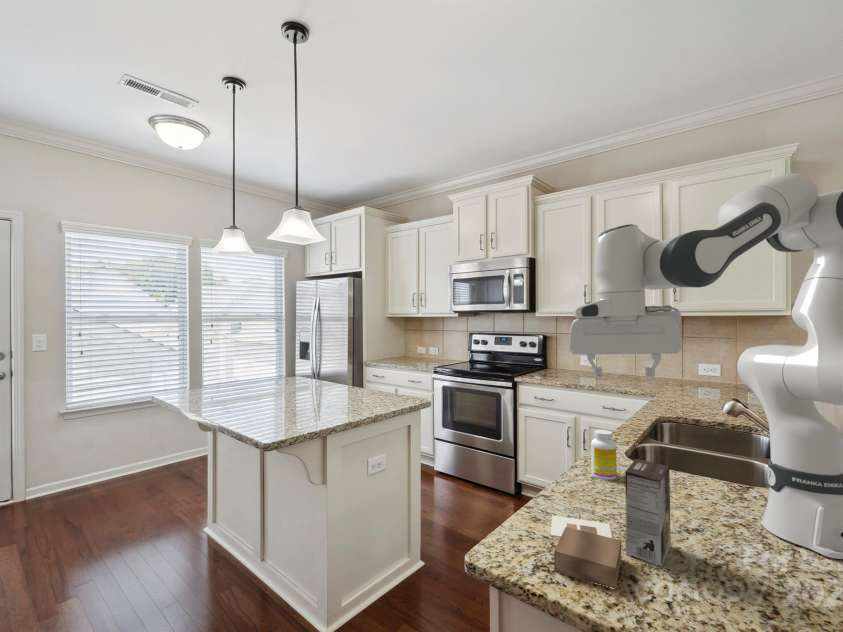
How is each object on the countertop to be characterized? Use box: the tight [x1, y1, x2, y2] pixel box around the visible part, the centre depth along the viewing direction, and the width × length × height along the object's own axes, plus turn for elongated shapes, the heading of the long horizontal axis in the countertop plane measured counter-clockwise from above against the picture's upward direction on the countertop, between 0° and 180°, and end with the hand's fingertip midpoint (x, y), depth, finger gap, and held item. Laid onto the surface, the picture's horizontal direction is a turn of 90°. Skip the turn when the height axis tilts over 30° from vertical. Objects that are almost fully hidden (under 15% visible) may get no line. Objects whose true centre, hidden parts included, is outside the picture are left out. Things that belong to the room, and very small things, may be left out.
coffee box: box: [624, 458, 671, 567], centre depth 80 cm, size 9×6×16 cm
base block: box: [553, 527, 622, 590], centre depth 75 cm, size 10×10×4 cm
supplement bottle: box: [590, 429, 618, 481], centre depth 118 cm, size 7×7×13 cm
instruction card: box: [550, 515, 613, 538], centre depth 88 cm, size 12×9×1 cm
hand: (623, 376), depth 82 cm, fingers open, 8 cm apart
